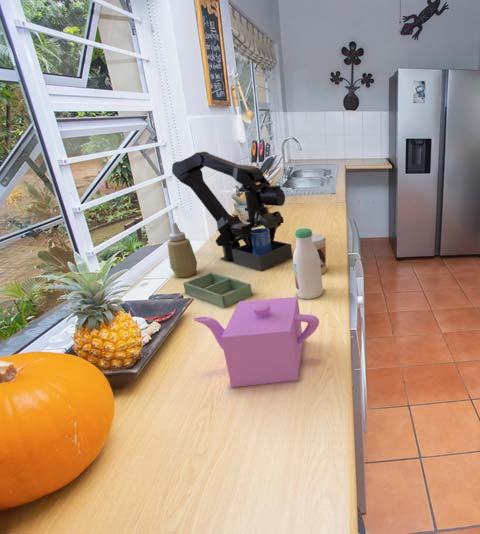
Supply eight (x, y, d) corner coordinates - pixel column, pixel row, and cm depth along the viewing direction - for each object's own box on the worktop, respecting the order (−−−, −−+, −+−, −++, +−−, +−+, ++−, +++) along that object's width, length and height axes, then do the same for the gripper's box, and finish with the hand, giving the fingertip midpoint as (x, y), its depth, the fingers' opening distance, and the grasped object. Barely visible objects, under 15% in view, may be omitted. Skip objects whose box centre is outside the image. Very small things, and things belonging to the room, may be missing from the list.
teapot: (215, 348, 90) (203, 294, 85) (323, 337, 94) (318, 285, 89) (193, 391, 77) (177, 330, 71) (321, 377, 80) (315, 318, 75)
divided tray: (185, 293, 118) (183, 282, 116) (213, 281, 125) (211, 272, 124) (224, 307, 109) (222, 296, 107) (252, 294, 116) (250, 284, 115)
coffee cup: (322, 277, 128) (318, 242, 123) (295, 275, 130) (291, 241, 125) (332, 266, 136) (329, 234, 132) (307, 265, 138) (304, 232, 133)
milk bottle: (327, 290, 119) (322, 227, 111) (314, 301, 112) (307, 235, 104) (305, 286, 121) (299, 225, 114) (291, 297, 114) (283, 232, 107)
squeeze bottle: (204, 272, 133) (193, 221, 126) (183, 280, 126) (170, 227, 119) (188, 268, 136) (176, 218, 129) (167, 276, 129) (153, 225, 122)
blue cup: (249, 260, 141) (245, 231, 137) (264, 255, 146) (260, 227, 142) (262, 264, 138) (258, 234, 134) (277, 258, 143) (273, 229, 139)
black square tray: (234, 263, 140) (231, 249, 138) (265, 251, 152) (263, 238, 149) (261, 271, 133) (259, 256, 131) (292, 258, 145) (291, 244, 142)
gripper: (248, 213, 123) (256, 258, 129) (291, 201, 138) (296, 243, 144) (226, 209, 128) (234, 253, 134) (270, 198, 143) (275, 238, 149)
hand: (261, 246), depth 140 cm, fingers open, 9 cm apart
